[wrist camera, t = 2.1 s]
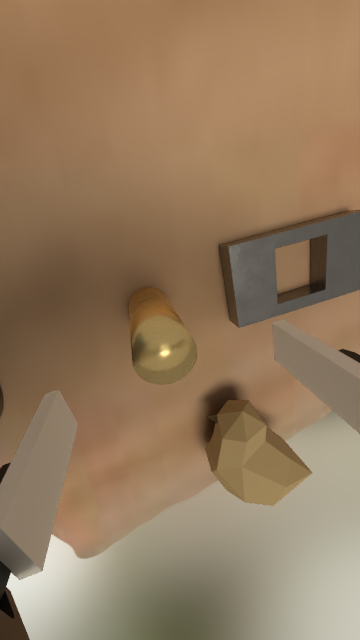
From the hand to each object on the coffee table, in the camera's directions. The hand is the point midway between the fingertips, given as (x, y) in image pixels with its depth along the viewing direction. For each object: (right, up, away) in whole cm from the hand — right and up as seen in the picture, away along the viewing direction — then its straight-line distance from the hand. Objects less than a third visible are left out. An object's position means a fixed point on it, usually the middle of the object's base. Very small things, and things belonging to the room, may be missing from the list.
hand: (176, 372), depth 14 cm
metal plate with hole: (+13, +9, +14) cm, 21 cm away
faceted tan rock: (+8, -12, +21) cm, 25 cm away
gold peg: (-3, +5, +12) cm, 13 cm away
